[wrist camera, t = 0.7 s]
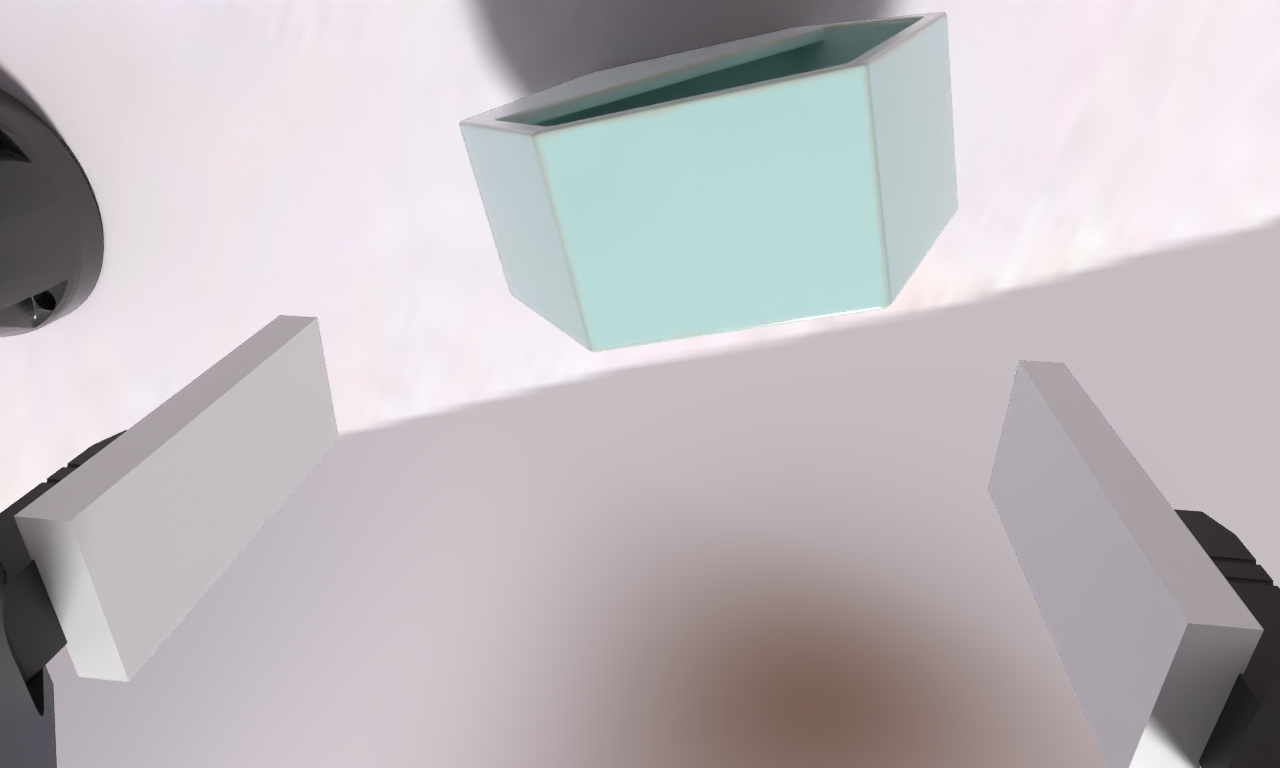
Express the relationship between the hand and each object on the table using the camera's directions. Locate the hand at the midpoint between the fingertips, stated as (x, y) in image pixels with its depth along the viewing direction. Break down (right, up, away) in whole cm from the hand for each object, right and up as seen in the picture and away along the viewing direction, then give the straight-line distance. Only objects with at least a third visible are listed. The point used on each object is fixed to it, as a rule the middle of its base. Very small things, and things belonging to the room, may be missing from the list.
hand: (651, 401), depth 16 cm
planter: (+4, +13, +26) cm, 30 cm away
